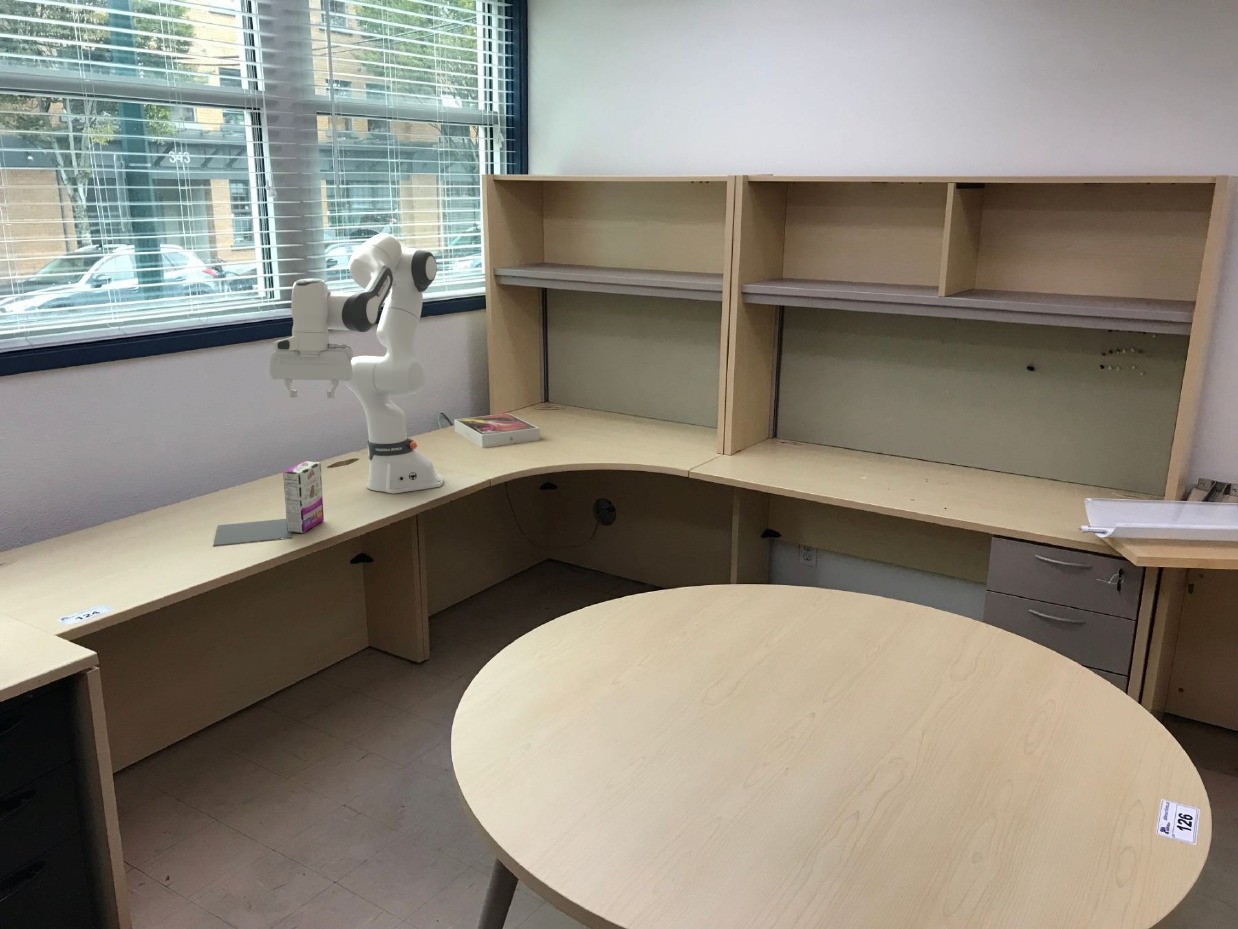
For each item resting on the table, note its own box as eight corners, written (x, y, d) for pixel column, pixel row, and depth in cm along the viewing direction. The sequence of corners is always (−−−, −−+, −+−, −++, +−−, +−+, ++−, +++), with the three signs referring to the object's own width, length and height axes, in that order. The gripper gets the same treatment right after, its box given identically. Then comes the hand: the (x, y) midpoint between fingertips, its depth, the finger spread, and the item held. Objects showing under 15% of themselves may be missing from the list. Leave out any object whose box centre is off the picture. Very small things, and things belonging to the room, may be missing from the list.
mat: (291, 519, 262) (291, 518, 262) (291, 538, 247) (291, 537, 247) (218, 526, 256) (217, 525, 256) (213, 546, 242) (213, 545, 242)
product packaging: (482, 449, 336) (482, 435, 334) (454, 432, 359) (454, 419, 358) (539, 441, 346) (539, 428, 344) (509, 426, 369) (508, 413, 368)
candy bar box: (307, 519, 261) (304, 460, 257) (324, 520, 260) (321, 461, 256) (285, 532, 251) (282, 470, 246) (303, 534, 250) (300, 472, 245)
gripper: (354, 343, 250) (356, 397, 252) (274, 341, 248) (275, 395, 251) (349, 344, 243) (350, 399, 246) (266, 342, 242) (268, 398, 245)
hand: (312, 397), depth 248 cm, fingers open, 8 cm apart
